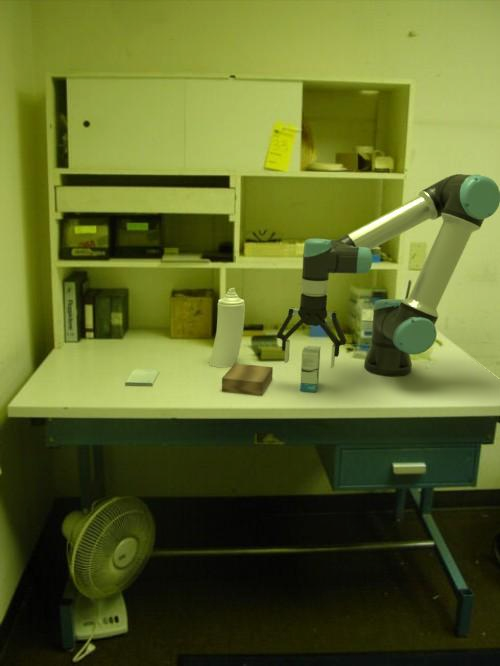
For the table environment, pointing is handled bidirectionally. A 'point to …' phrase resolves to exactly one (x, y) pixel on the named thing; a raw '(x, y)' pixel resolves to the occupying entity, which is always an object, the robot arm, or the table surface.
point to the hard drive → (142, 377)
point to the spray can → (228, 330)
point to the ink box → (310, 368)
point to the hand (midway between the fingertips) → (309, 364)
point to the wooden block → (247, 379)
